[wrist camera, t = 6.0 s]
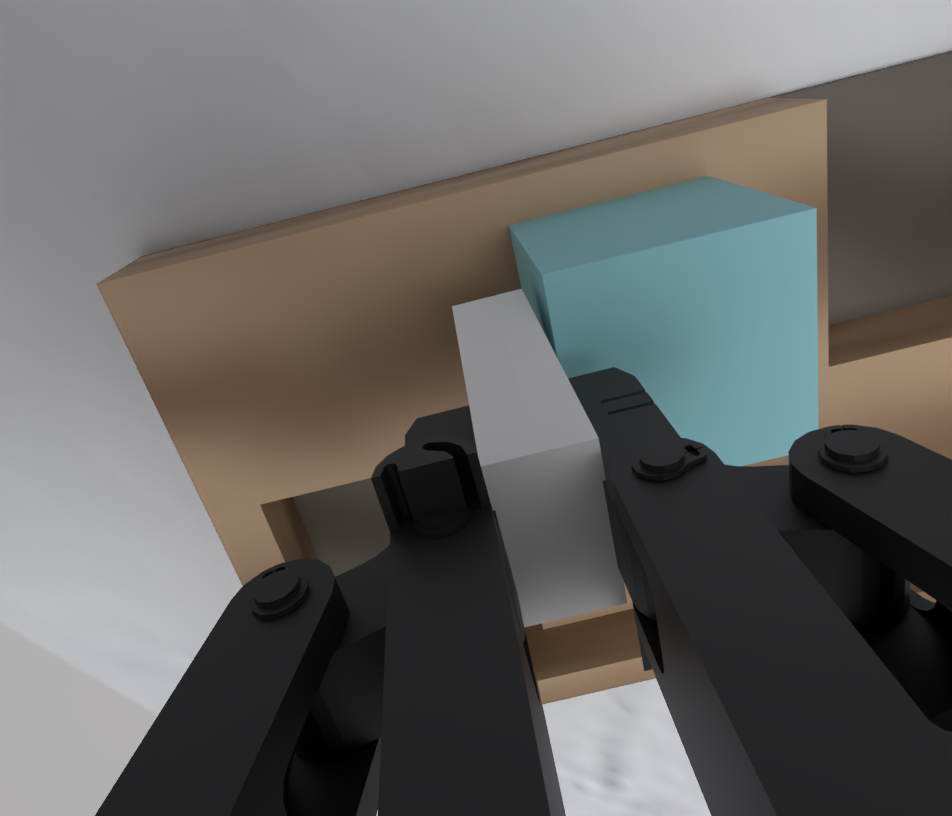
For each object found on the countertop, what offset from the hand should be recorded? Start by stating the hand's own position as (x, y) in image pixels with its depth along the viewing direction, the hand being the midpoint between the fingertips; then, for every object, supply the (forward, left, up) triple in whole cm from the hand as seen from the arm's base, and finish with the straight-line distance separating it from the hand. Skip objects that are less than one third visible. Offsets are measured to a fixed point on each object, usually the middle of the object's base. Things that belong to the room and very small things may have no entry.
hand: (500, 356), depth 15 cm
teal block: (0, +4, -3) cm, 5 cm away
